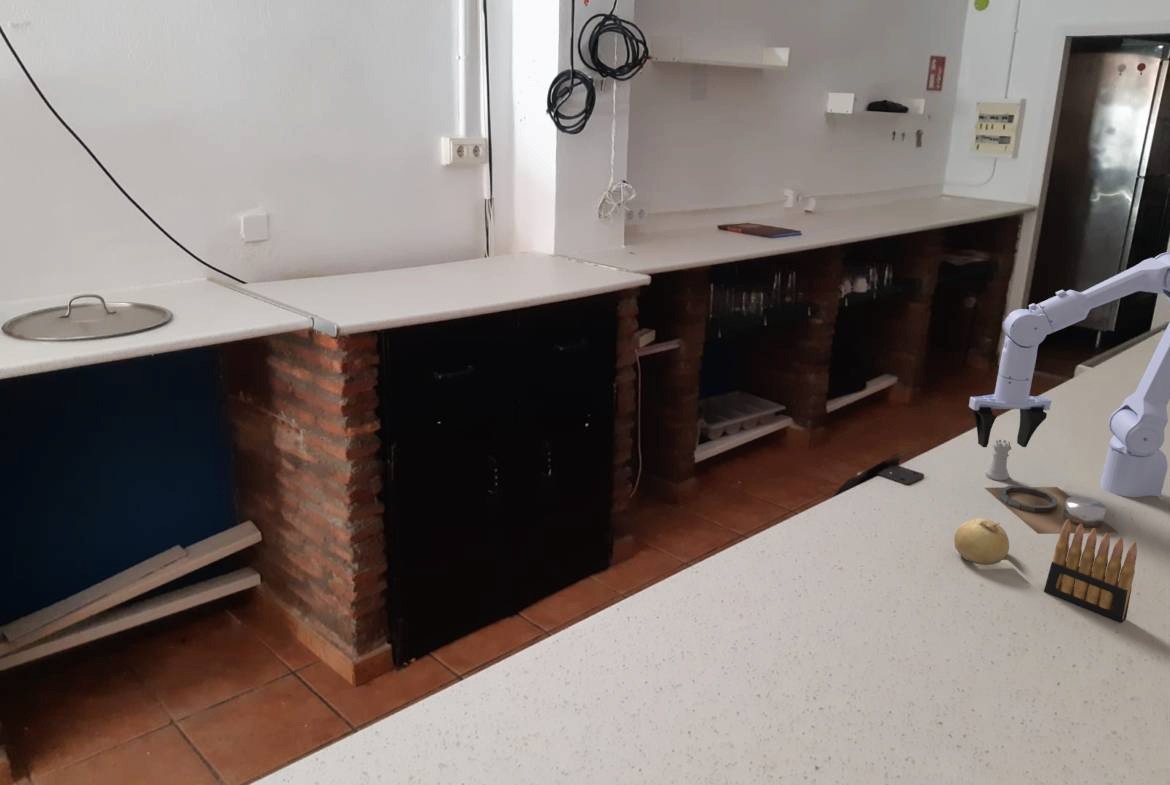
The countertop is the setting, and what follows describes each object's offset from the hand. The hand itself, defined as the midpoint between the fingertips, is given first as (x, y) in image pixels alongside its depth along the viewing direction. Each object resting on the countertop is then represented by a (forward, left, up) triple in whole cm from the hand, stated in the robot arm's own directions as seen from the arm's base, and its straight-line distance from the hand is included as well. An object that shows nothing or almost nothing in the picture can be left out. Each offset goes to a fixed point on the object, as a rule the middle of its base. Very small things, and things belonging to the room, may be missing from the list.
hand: (1002, 445), depth 171 cm
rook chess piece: (0, 0, -8) cm, 8 cm away
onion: (+18, +29, -8) cm, 35 cm away
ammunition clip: (+9, +43, -8) cm, 45 cm away
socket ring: (0, +11, -6) cm, 13 cm away
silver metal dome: (-6, +19, -6) cm, 20 cm away
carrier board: (-2, +14, -7) cm, 16 cm away
